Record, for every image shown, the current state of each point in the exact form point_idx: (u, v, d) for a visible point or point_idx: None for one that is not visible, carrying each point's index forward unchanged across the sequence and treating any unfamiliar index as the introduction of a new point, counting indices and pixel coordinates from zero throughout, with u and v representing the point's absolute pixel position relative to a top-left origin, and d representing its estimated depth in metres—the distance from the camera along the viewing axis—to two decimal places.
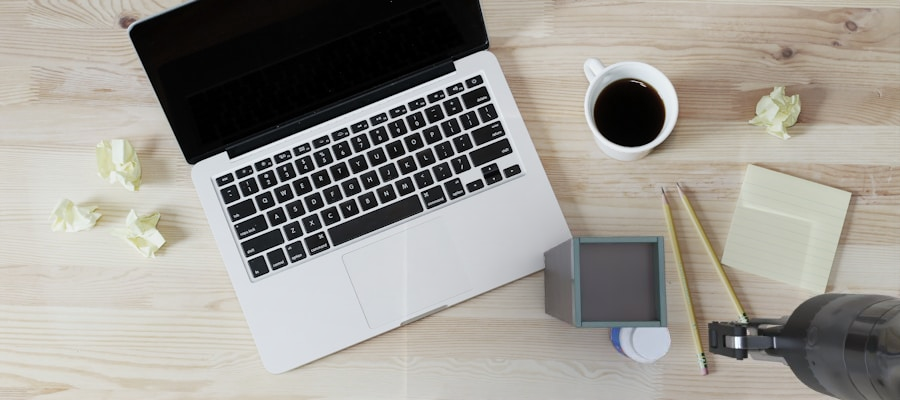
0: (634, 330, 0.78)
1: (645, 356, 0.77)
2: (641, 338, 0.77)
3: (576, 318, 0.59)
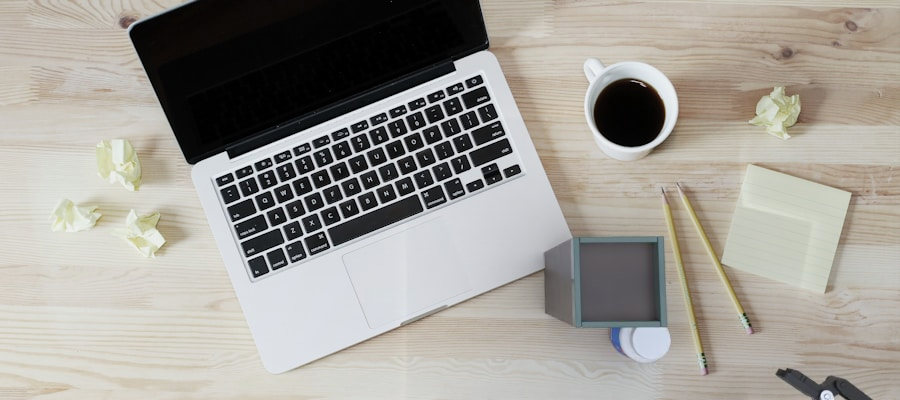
0: (634, 330, 0.78)
1: (645, 356, 0.77)
2: (641, 338, 0.77)
3: (576, 318, 0.59)
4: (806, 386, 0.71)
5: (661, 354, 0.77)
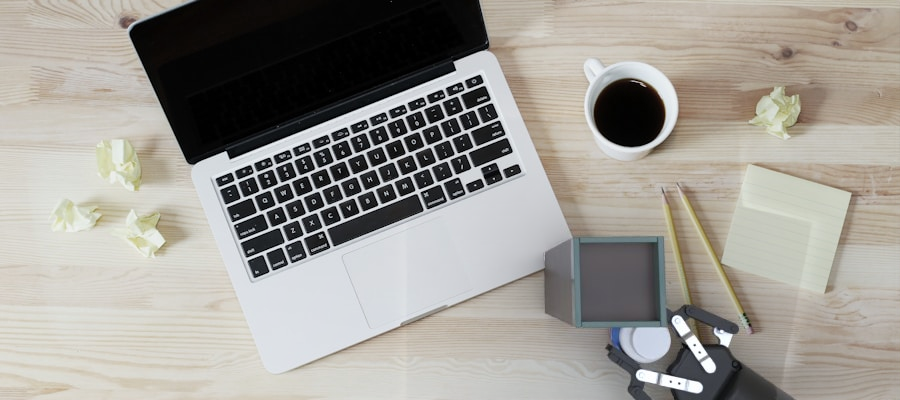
0: (634, 330, 0.78)
1: (645, 356, 0.77)
2: (641, 337, 0.77)
3: (576, 318, 0.59)
4: None
5: (661, 354, 0.77)
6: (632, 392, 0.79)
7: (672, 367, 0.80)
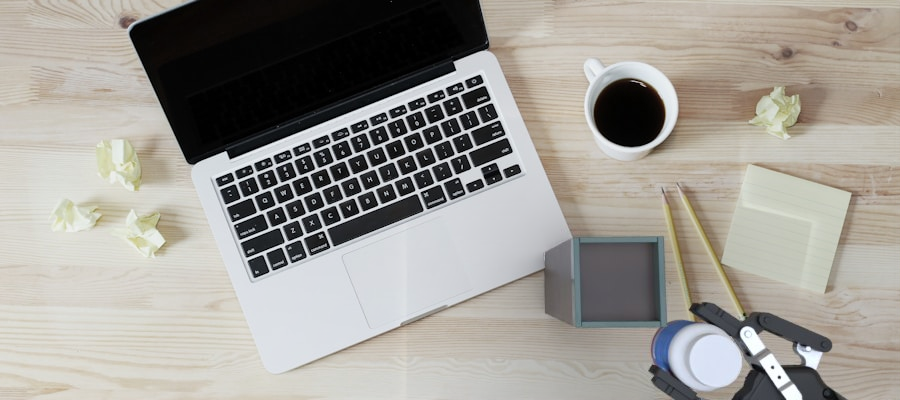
0: (691, 347, 0.57)
1: (707, 383, 0.56)
2: (702, 357, 0.56)
3: (576, 318, 0.59)
4: (723, 322, 0.59)
5: (729, 380, 0.56)
6: None
7: (741, 397, 0.59)
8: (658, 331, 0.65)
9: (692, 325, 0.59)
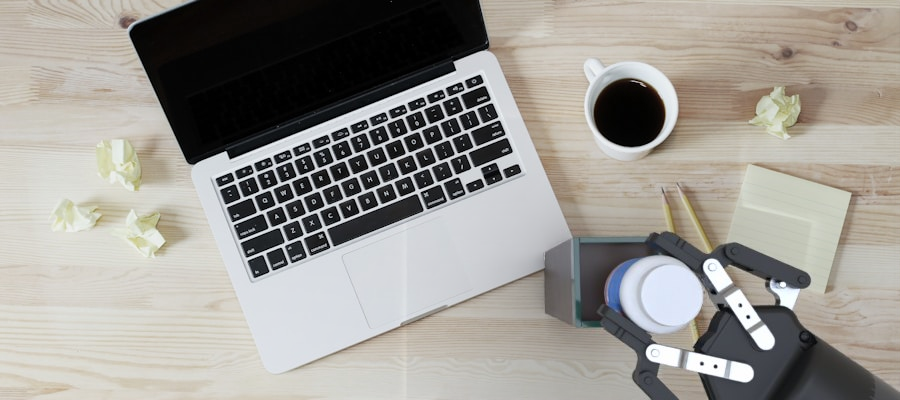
0: (644, 279, 0.48)
1: (662, 321, 0.47)
2: (655, 291, 0.48)
3: (576, 318, 0.59)
4: (683, 253, 0.50)
5: (688, 318, 0.47)
6: (640, 380, 0.49)
7: (703, 341, 0.50)
8: (613, 271, 0.56)
9: (647, 257, 0.51)
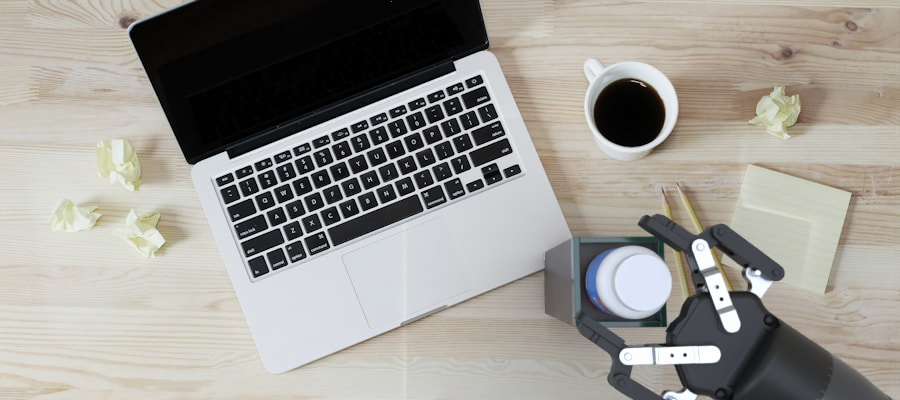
0: (617, 268, 0.52)
1: (633, 306, 0.51)
2: (628, 279, 0.51)
3: None
4: (673, 234, 0.54)
5: (658, 303, 0.51)
6: (613, 382, 0.53)
7: (675, 325, 0.53)
8: (592, 261, 0.60)
9: (622, 247, 0.54)
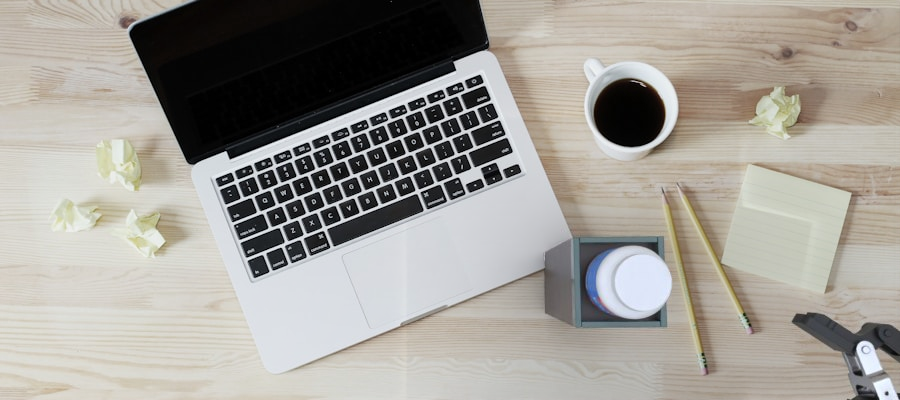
0: (617, 268, 0.52)
1: (633, 306, 0.51)
2: (628, 279, 0.51)
3: (576, 318, 0.59)
4: (836, 336, 0.51)
5: (658, 303, 0.51)
6: None
7: None
8: (592, 261, 0.60)
9: (622, 247, 0.54)
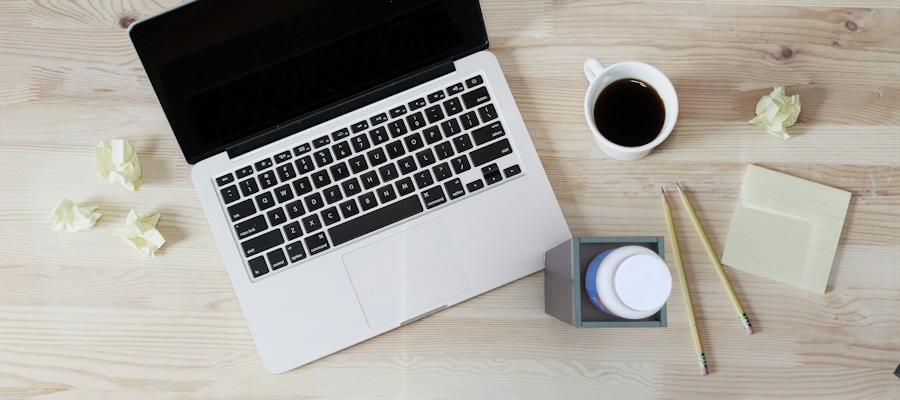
0: (617, 268, 0.52)
1: (633, 306, 0.51)
2: (628, 279, 0.51)
3: (576, 318, 0.59)
4: None
5: (658, 303, 0.51)
6: None
7: None
8: (592, 261, 0.60)
9: (622, 247, 0.54)
